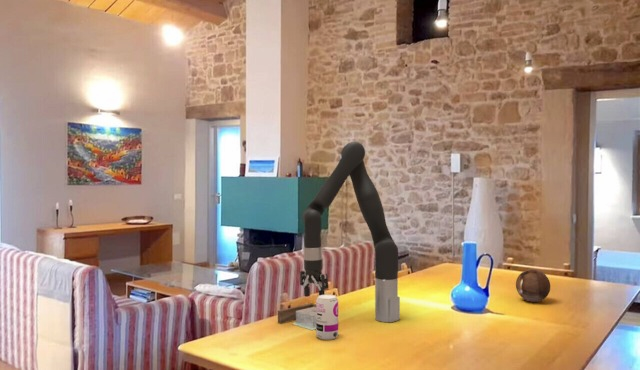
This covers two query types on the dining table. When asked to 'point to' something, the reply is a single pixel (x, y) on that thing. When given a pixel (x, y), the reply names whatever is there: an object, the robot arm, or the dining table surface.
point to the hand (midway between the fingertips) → (314, 297)
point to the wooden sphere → (533, 285)
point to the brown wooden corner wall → (291, 313)
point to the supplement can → (327, 317)
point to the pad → (303, 326)
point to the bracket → (306, 317)
